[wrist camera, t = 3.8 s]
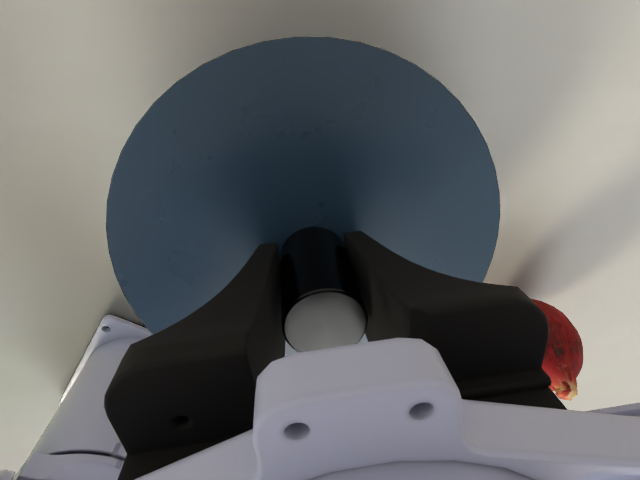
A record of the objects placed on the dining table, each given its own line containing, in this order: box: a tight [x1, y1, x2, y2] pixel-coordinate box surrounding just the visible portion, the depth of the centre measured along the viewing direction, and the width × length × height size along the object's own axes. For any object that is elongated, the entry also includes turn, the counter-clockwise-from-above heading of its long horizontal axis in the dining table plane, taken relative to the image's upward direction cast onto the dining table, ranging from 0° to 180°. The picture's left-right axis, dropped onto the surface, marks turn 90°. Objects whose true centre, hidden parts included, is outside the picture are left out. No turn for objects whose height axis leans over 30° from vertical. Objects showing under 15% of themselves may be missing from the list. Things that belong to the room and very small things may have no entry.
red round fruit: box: [531, 299, 583, 400], centre depth 26 cm, size 6×6×8 cm
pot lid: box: [106, 37, 500, 357], centre depth 13 cm, size 14×14×5 cm
